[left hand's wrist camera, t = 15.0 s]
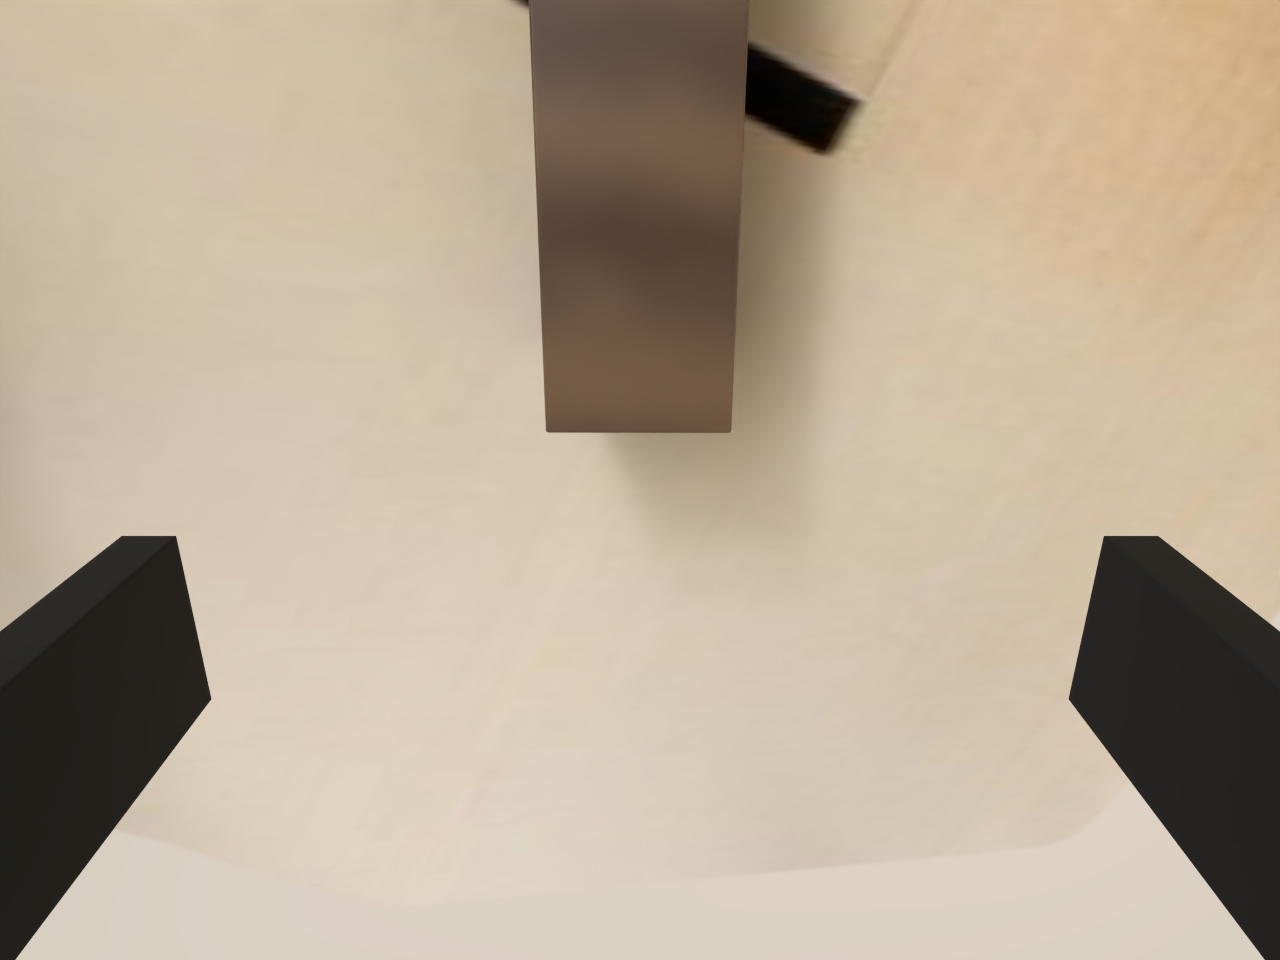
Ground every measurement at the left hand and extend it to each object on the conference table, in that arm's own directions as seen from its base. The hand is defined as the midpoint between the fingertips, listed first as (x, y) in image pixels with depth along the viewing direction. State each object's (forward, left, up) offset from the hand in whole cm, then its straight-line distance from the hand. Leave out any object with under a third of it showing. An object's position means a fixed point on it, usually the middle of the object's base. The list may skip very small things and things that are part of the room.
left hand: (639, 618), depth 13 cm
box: (+4, +7, -28) cm, 29 cm away
